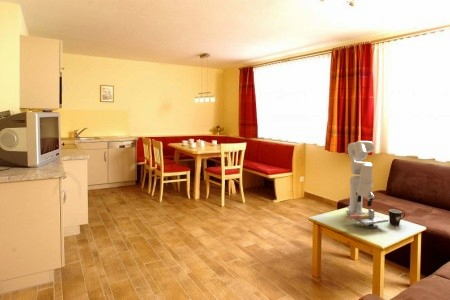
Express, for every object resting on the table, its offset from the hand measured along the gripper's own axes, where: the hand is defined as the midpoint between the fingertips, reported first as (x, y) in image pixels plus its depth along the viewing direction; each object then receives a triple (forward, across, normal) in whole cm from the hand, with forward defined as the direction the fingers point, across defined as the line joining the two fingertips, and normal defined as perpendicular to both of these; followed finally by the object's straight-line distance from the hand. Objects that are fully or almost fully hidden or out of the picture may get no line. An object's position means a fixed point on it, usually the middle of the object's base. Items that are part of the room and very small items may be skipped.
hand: (364, 203), depth 218 cm
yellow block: (+16, +1, -1) cm, 16 cm away
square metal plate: (+17, +1, +3) cm, 17 cm away
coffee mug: (+18, +5, +27) cm, 33 cm away
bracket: (+10, +1, -9) cm, 14 cm away
